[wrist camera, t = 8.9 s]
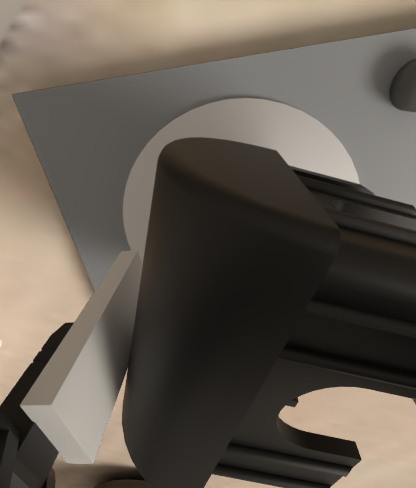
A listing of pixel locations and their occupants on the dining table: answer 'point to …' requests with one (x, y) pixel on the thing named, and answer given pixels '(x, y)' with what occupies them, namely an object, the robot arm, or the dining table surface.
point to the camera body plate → (224, 129)
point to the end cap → (261, 315)
